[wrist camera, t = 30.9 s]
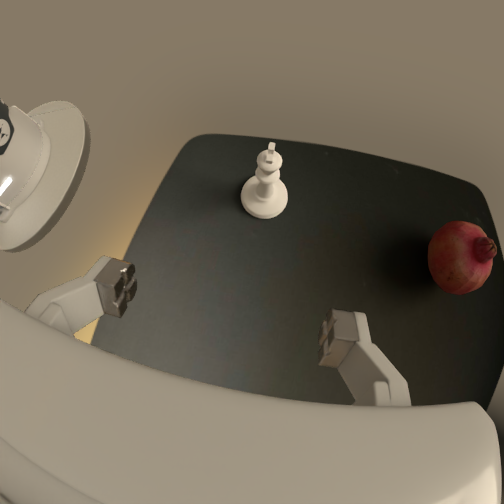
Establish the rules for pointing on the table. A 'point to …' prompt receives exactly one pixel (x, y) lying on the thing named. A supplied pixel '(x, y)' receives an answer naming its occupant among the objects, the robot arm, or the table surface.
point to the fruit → (460, 257)
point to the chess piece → (265, 187)
